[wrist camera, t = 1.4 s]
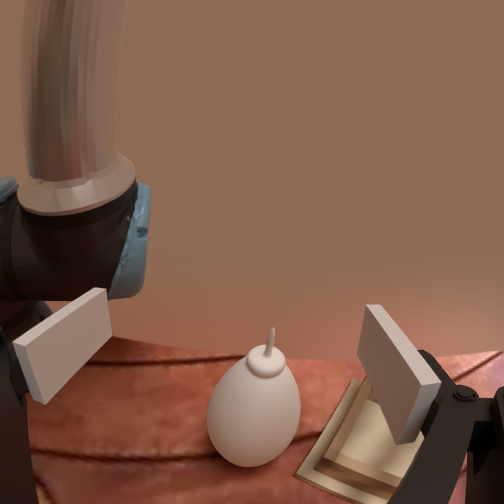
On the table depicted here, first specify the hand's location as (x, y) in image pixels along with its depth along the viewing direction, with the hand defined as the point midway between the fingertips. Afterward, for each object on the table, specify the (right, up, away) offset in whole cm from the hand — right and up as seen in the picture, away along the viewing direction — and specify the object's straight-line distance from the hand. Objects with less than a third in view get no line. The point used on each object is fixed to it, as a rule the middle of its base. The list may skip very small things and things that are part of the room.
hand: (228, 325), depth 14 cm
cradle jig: (+16, -19, +12) cm, 28 cm away
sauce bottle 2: (0, -17, +13) cm, 21 cm away
